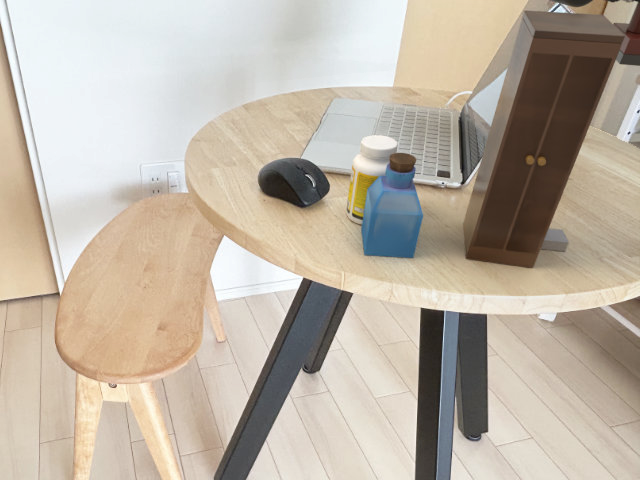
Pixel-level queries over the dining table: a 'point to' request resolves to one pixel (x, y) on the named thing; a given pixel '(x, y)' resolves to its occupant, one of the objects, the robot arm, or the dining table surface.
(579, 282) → the dining table surface
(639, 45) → the stamp
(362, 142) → the pill bottle
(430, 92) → the dining table surface
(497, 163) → the cupboard
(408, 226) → the perfume bottle
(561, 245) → the small grey rectangular block
